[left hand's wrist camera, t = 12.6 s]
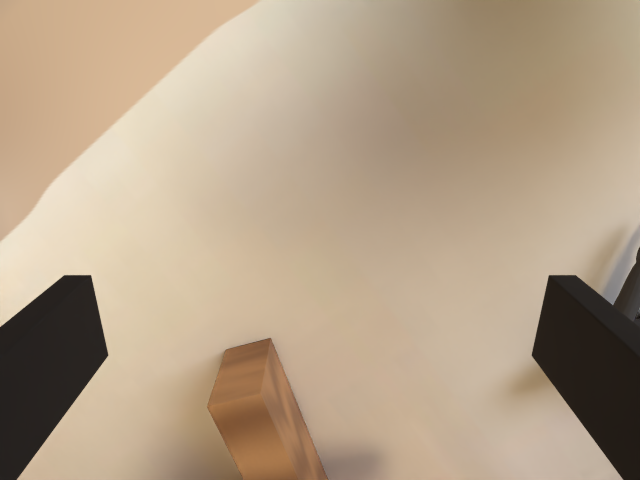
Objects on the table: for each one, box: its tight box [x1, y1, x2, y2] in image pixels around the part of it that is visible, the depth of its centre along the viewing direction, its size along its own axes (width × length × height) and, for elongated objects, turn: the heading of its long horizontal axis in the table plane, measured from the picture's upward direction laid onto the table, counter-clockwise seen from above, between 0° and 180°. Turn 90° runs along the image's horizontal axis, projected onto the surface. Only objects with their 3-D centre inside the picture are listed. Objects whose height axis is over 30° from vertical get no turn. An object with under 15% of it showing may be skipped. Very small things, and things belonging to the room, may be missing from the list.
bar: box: [207, 338, 328, 480], centre depth 46 cm, size 22×5×8 cm, turn 17°
